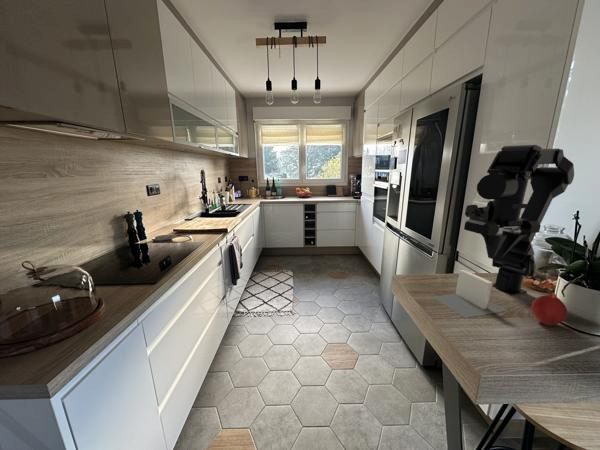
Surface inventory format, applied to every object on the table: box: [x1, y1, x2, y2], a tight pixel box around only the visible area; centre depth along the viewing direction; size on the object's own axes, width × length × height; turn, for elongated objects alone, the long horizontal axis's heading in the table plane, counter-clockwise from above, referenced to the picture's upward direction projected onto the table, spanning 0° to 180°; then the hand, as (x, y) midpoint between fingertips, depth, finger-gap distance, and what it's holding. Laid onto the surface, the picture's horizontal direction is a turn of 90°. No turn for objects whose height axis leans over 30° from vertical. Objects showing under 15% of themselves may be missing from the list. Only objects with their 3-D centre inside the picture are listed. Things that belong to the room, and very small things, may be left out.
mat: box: [431, 293, 509, 319], centre depth 65 cm, size 14×10×1 cm
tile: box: [454, 269, 494, 309], centre depth 66 cm, size 2×8×7 cm, turn 17°
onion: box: [530, 292, 568, 326], centre depth 57 cm, size 6×6×8 cm
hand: (495, 257), depth 66 cm, fingers open, 3 cm apart
